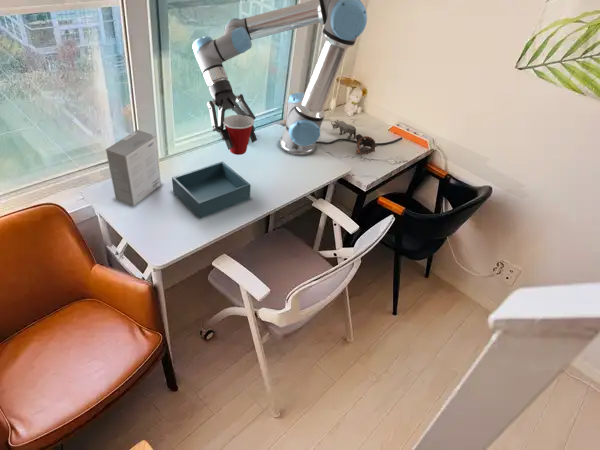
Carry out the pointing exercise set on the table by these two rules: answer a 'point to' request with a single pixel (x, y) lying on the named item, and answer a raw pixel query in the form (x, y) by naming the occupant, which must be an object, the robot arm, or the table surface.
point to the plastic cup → (239, 132)
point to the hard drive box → (134, 167)
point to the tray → (211, 189)
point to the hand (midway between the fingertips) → (243, 144)
